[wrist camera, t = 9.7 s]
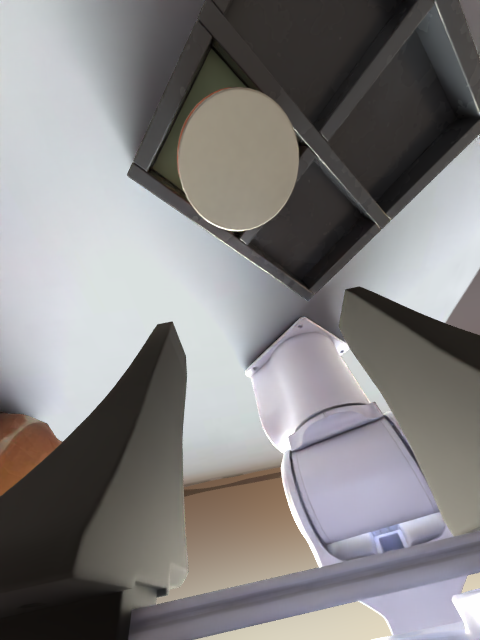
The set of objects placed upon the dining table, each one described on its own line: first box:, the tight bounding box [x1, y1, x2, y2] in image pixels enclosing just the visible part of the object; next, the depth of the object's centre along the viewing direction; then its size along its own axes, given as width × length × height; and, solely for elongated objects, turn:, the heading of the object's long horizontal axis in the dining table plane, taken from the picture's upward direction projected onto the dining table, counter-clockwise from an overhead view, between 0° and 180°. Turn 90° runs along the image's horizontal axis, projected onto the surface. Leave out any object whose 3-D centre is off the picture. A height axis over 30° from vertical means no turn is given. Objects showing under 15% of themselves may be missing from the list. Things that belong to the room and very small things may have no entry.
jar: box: [177, 87, 299, 231], centre depth 12 cm, size 5×5×6 cm
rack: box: [127, 0, 480, 301], centre depth 15 cm, size 15×15×2 cm
